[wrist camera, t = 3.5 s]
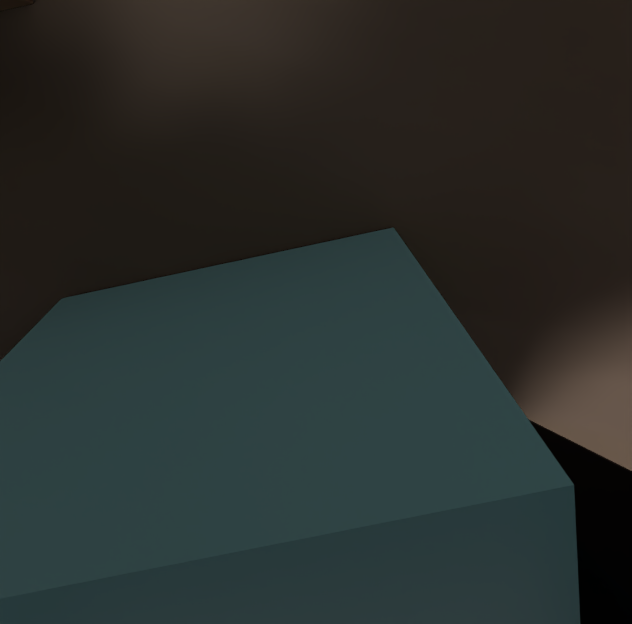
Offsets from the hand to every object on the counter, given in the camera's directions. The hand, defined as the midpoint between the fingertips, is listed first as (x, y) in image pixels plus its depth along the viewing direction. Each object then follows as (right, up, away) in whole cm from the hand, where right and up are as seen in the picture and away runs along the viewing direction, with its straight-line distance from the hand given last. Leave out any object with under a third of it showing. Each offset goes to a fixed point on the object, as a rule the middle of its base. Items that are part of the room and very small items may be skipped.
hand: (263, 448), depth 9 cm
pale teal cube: (0, 0, +1) cm, 1 cm away
